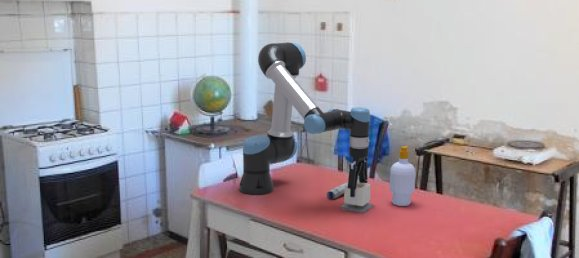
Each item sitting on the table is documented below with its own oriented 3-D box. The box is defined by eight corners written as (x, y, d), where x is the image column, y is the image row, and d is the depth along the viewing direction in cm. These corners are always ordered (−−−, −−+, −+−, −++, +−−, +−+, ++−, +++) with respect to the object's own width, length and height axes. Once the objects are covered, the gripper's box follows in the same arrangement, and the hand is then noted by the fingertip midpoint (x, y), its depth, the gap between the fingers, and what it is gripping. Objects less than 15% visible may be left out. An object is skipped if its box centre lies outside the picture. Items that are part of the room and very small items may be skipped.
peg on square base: (340, 209, 240) (341, 187, 238) (350, 202, 248) (351, 181, 246) (363, 213, 235) (364, 191, 233) (373, 206, 244) (373, 185, 242)
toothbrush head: (325, 189, 253) (358, 170, 270) (326, 204, 255) (359, 184, 272) (335, 192, 249) (368, 172, 267) (335, 206, 251) (368, 186, 269)
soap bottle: (418, 203, 247) (421, 147, 243) (405, 209, 240) (408, 151, 235) (397, 198, 254) (400, 143, 249) (383, 203, 247) (386, 147, 242)
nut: (344, 202, 240) (344, 186, 238) (351, 197, 246) (352, 181, 245) (362, 206, 236) (363, 189, 234) (370, 200, 243) (370, 184, 241)
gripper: (357, 153, 226) (355, 210, 230) (377, 142, 244) (375, 195, 248) (339, 150, 229) (338, 207, 234) (360, 140, 247) (358, 193, 252)
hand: (357, 201), depth 241 cm, fingers closed on nut, 8 cm apart
